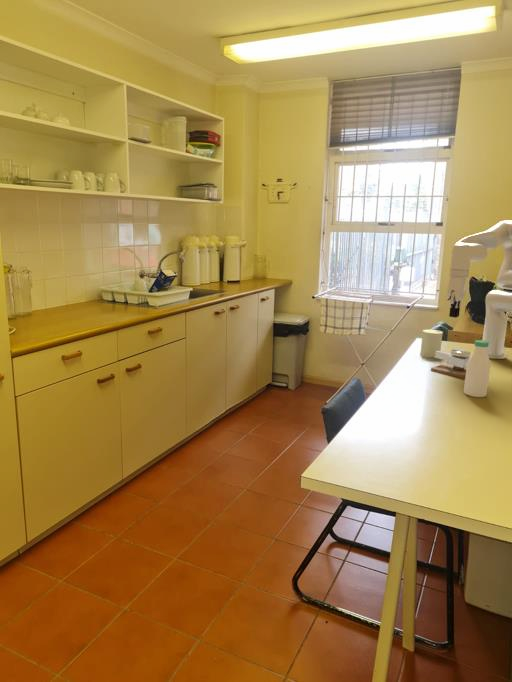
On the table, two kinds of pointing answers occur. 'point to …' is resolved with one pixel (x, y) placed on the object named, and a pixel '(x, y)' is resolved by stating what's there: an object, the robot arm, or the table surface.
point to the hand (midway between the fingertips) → (454, 316)
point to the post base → (450, 370)
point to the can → (431, 342)
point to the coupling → (454, 360)
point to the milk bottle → (477, 371)
